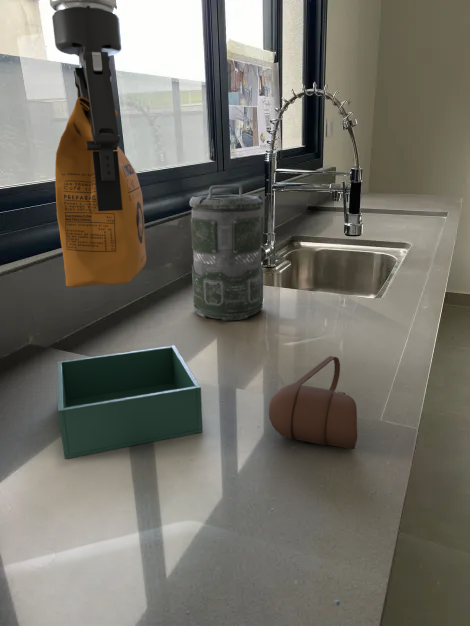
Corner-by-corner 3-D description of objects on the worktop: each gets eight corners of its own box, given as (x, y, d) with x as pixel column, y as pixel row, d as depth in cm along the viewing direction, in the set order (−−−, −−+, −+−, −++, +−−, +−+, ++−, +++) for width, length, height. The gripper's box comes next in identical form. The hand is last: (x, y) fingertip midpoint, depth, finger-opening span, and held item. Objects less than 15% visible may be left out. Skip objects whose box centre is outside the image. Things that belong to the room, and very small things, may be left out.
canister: (244, 297, 124) (243, 181, 115) (275, 315, 110) (277, 185, 101) (184, 306, 117) (178, 184, 108) (209, 326, 104) (205, 189, 95)
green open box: (64, 459, 60) (57, 411, 58) (62, 402, 73) (57, 361, 71) (202, 432, 65) (200, 387, 63) (176, 383, 79) (174, 345, 76)
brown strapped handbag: (354, 464, 58) (358, 412, 56) (260, 444, 62) (260, 394, 60) (375, 396, 73) (379, 353, 71) (299, 383, 78) (300, 342, 76)
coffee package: (158, 269, 72) (149, 104, 65) (131, 292, 60) (117, 94, 53) (92, 267, 73) (76, 106, 66) (53, 290, 61) (29, 96, 54)
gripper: (136, -17, 47) (151, 214, 53) (108, 37, 69) (121, 196, 75) (52, -25, 44) (79, 218, 51) (50, 34, 66) (69, 198, 73)
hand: (104, 205), depth 63 cm, fingers closed on coffee package, 12 cm apart
